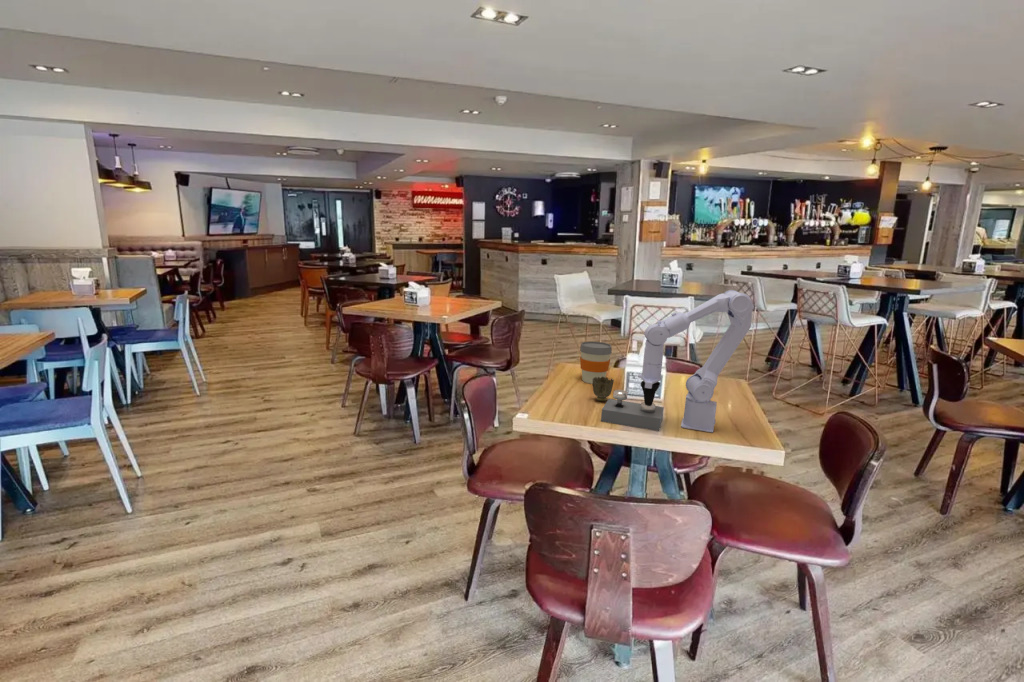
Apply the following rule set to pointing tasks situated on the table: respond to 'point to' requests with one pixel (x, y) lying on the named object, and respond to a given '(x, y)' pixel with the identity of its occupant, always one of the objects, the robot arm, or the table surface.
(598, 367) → the reusable coffee cup
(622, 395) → the knob outer
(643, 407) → the knob near
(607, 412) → the knob mount
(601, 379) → the cup
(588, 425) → the table surface
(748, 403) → the table surface
